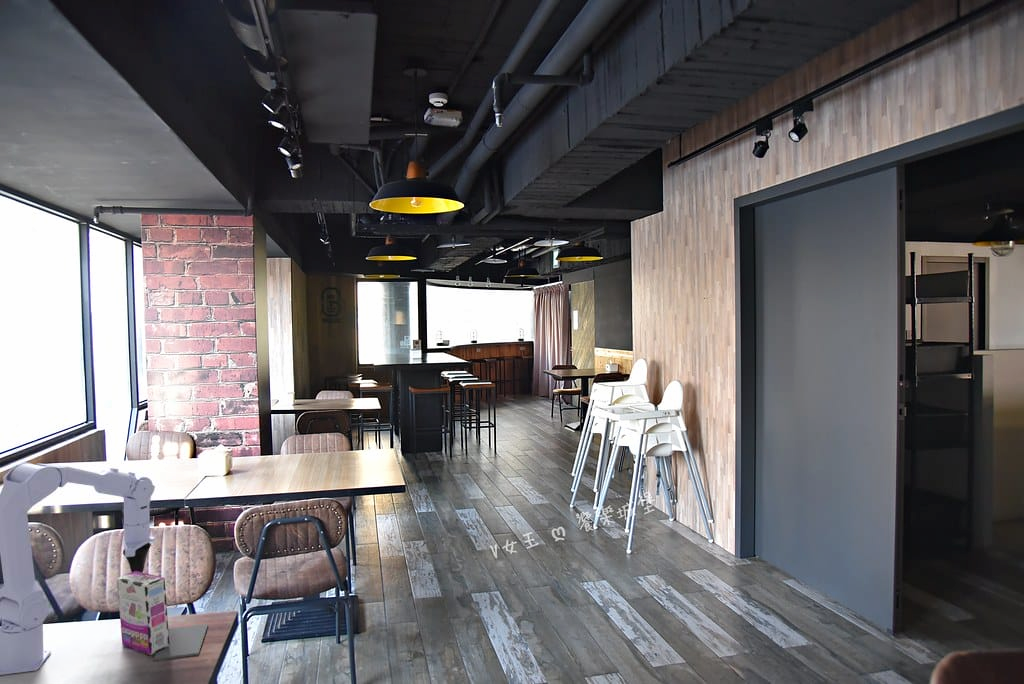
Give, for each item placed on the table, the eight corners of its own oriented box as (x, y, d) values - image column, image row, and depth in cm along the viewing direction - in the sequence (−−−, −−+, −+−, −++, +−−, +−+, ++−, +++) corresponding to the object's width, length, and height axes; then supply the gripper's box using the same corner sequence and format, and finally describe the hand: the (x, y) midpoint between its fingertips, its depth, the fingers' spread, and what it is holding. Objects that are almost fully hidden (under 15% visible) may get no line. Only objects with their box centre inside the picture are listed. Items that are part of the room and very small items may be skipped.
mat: (153, 660, 146) (153, 658, 146) (166, 631, 159) (166, 629, 159) (198, 655, 149) (198, 652, 149) (207, 626, 162) (207, 624, 162)
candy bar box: (171, 645, 151) (166, 577, 150) (151, 656, 147) (145, 585, 146) (141, 635, 157) (136, 569, 156) (121, 645, 152) (115, 577, 151)
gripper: (147, 530, 161) (148, 583, 162) (160, 512, 175) (161, 562, 176) (115, 532, 159) (116, 587, 160) (131, 514, 173) (131, 564, 174)
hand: (137, 574), depth 168 cm, fingers closed
